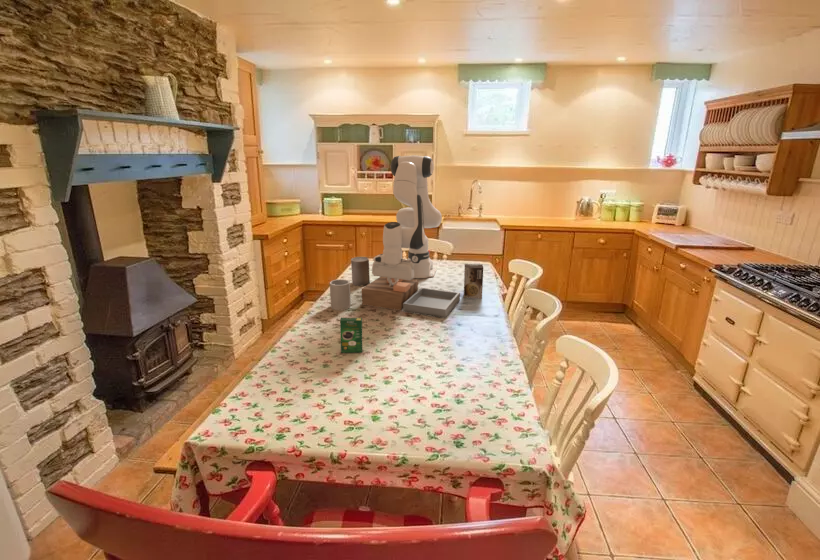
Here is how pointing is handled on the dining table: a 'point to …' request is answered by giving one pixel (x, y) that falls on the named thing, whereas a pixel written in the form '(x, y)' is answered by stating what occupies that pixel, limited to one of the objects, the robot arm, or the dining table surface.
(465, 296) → the coffee box
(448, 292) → the box
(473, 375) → the dining table surface
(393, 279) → the terracotta tile
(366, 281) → the pillar candle
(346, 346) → the coffee box
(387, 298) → the brown wooden block
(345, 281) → the cup
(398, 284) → the terracotta tile
